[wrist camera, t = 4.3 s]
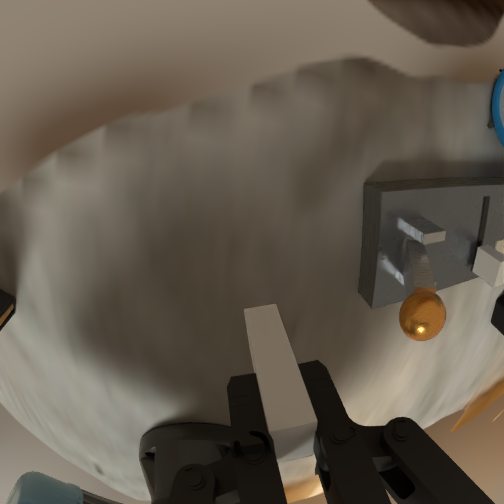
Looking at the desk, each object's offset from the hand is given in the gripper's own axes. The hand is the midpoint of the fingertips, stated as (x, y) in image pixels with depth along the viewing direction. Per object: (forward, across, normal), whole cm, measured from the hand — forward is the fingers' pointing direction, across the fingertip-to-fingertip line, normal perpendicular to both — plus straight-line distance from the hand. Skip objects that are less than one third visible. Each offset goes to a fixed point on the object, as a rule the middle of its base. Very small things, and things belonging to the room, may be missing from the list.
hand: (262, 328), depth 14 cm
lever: (+5, +12, 0) cm, 13 cm away
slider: (+5, +20, -2) cm, 21 cm away
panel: (+7, +27, 0) cm, 28 cm away
